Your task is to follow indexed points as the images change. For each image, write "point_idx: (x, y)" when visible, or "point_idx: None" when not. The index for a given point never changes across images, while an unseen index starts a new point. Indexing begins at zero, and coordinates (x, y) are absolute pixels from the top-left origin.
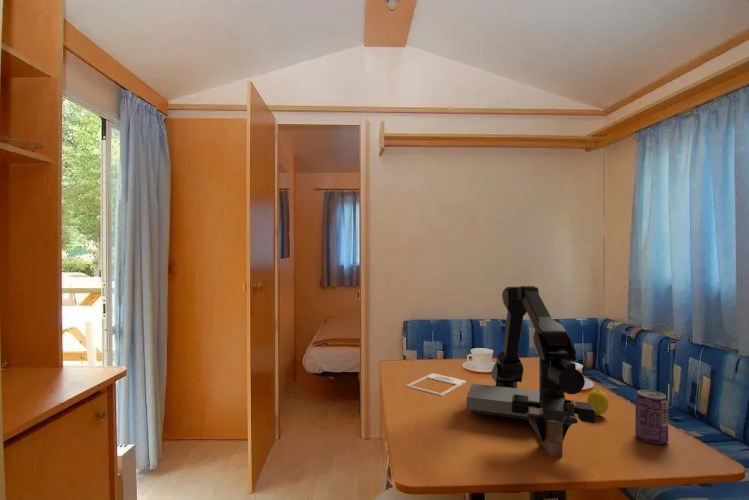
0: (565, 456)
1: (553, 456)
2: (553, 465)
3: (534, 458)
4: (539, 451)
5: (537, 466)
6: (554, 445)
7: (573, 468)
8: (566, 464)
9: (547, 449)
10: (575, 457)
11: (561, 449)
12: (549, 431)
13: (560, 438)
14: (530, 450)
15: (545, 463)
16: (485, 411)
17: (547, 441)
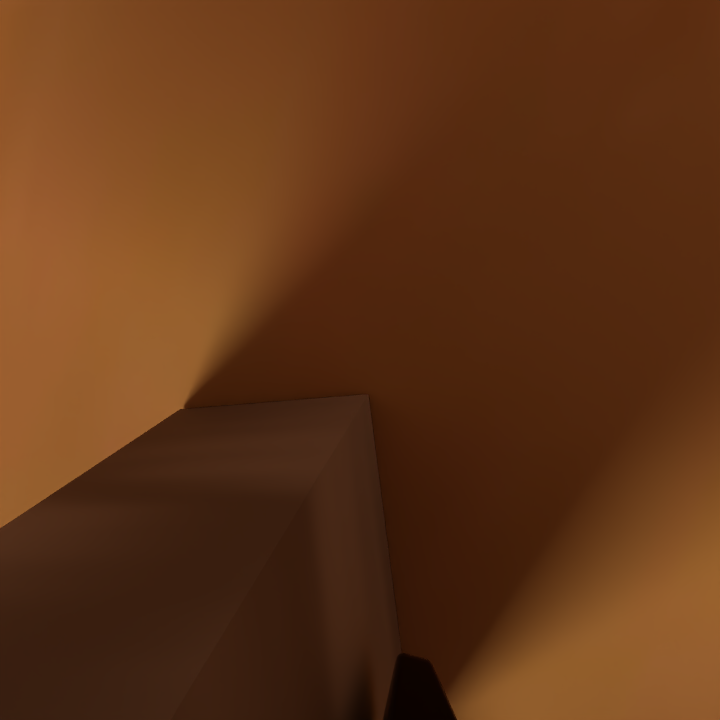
0: (135, 431)
1: (309, 400)
2: (376, 115)
3: (645, 306)
4: (488, 542)
5: (679, 16)
6: (232, 466)
7: (87, 78)
8: (166, 189)
9: (370, 511)
10: (10, 419)
11: (137, 450)
12: (220, 697)
13: (18, 546)
14: (632, 562)
15: (496, 160)
16: None
17: (341, 598)
